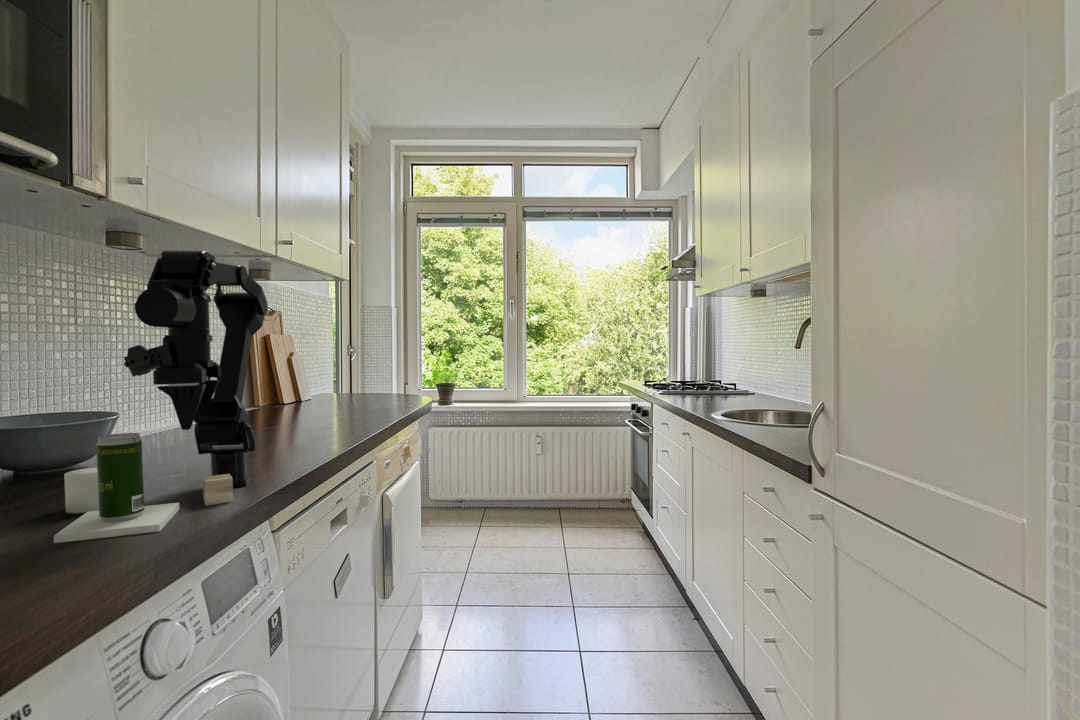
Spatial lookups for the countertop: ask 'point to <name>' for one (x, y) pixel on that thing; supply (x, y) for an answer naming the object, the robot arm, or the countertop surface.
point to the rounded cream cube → (81, 490)
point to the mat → (117, 524)
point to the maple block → (217, 489)
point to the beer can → (120, 477)
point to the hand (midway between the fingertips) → (192, 425)
